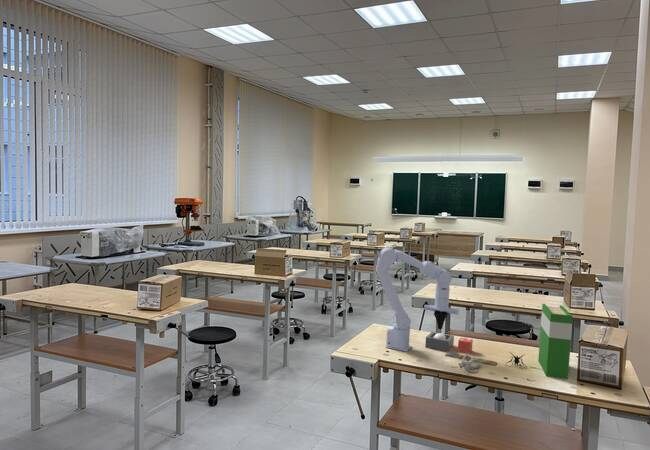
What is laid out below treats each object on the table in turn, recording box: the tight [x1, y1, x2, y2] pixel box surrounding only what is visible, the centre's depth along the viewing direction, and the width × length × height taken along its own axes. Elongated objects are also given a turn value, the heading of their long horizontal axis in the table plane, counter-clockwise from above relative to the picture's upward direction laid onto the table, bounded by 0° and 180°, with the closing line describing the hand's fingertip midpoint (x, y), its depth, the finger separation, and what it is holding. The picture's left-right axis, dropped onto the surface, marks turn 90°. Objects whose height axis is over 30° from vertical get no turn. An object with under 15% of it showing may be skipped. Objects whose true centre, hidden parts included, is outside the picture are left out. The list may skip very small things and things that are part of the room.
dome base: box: [424, 331, 455, 353], centre depth 203 cm, size 10×10×4 cm
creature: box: [506, 351, 528, 370], centre depth 181 cm, size 8×5×8 cm
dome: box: [434, 332, 447, 340], centre depth 203 cm, size 7×7×6 cm
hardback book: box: [537, 303, 574, 380], centre depth 179 cm, size 18×7×24 cm, turn 164°
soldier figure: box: [457, 353, 483, 373], centre depth 176 cm, size 8×5×12 cm
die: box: [457, 337, 474, 355], centre depth 198 cm, size 5×5×5 cm
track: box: [445, 351, 498, 366], centre depth 188 cm, size 20×4×1 cm, turn 62°
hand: (440, 328), depth 197 cm, fingers closed
